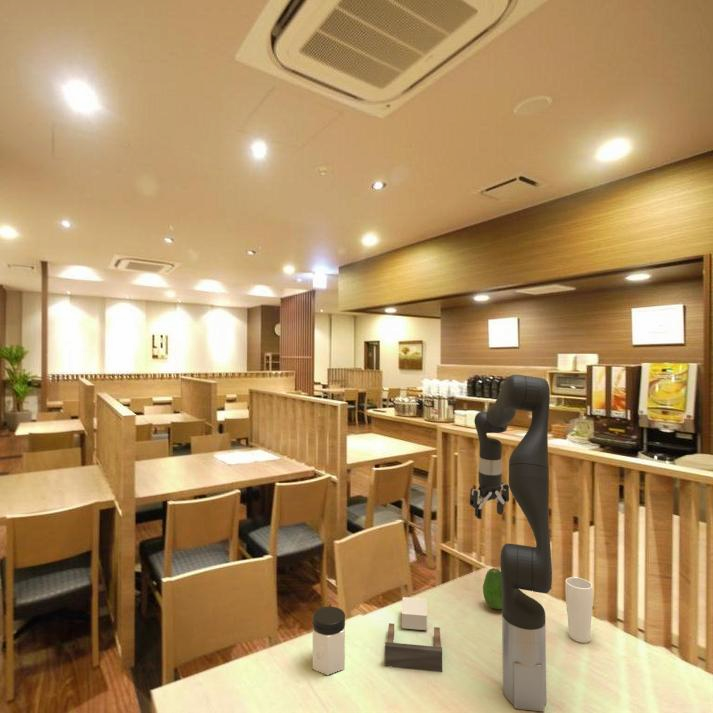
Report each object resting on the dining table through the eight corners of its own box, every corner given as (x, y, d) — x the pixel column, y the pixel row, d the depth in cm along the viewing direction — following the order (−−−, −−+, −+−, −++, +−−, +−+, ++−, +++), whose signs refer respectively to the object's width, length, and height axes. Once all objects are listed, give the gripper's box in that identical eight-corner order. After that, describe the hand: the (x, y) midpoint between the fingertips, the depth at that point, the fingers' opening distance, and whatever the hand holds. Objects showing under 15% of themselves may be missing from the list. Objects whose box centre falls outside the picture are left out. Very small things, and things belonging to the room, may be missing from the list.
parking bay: (442, 671, 106) (442, 651, 106) (385, 666, 108) (384, 645, 108) (439, 636, 120) (439, 618, 120) (388, 632, 122) (388, 614, 122)
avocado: (477, 604, 136) (477, 565, 137) (497, 599, 139) (497, 561, 140) (495, 618, 129) (494, 577, 129) (515, 612, 132) (515, 572, 132)
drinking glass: (587, 631, 122) (586, 577, 123) (598, 646, 116) (597, 589, 116) (562, 629, 123) (561, 576, 123) (571, 645, 116) (570, 588, 117)
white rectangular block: (426, 632, 122) (426, 615, 122) (401, 630, 123) (401, 613, 123) (426, 614, 131) (426, 598, 131) (402, 612, 132) (402, 597, 132)
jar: (304, 667, 108) (304, 618, 108) (323, 648, 115) (323, 602, 115) (335, 680, 103) (335, 628, 104) (352, 660, 110) (352, 612, 111)
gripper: (479, 477, 140) (478, 525, 142) (515, 470, 145) (513, 517, 147) (465, 469, 147) (465, 514, 149) (500, 463, 152) (499, 507, 154)
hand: (489, 515), depth 148 cm, fingers open, 8 cm apart
